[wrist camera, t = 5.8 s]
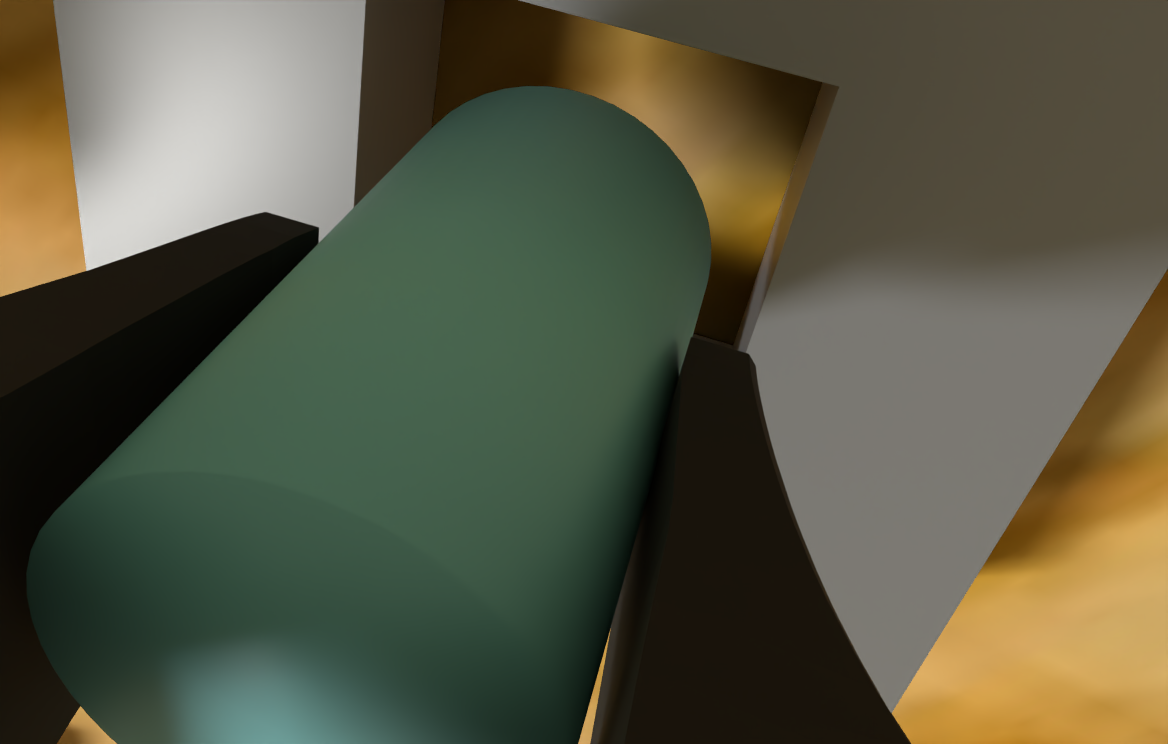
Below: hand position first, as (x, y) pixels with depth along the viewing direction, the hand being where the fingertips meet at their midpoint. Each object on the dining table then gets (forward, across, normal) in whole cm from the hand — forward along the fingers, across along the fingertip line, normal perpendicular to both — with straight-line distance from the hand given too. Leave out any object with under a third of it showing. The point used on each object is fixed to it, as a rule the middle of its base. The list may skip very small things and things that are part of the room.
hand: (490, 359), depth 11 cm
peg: (+2, 0, 0) cm, 2 cm away
